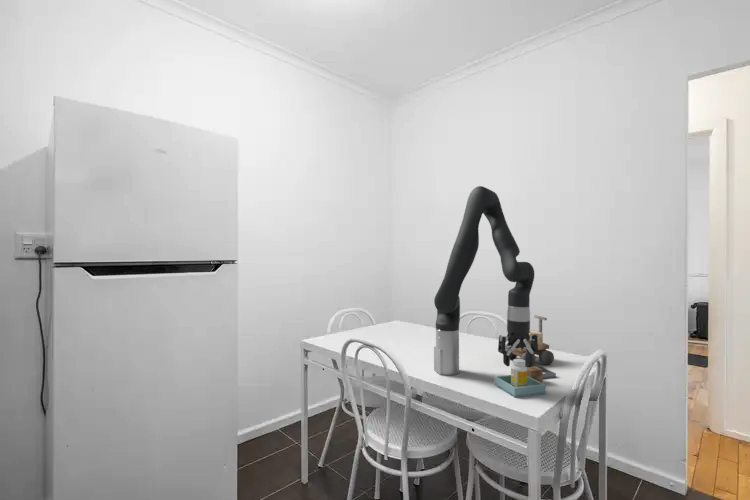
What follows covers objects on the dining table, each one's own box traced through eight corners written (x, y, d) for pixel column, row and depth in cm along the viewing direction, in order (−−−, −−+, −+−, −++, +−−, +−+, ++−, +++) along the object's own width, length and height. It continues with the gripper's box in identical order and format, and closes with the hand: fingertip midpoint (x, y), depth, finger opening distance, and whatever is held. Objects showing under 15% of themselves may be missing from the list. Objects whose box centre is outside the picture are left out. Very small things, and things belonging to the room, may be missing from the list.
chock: (530, 384, 137) (530, 370, 137) (523, 380, 141) (523, 367, 141) (542, 383, 138) (542, 369, 138) (535, 379, 142) (535, 366, 142)
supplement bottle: (508, 387, 132) (508, 360, 132) (514, 383, 136) (514, 357, 136) (523, 391, 128) (523, 363, 128) (529, 387, 132) (529, 360, 132)
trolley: (523, 367, 156) (523, 321, 156) (504, 358, 169) (504, 315, 169) (554, 364, 160) (553, 319, 159) (532, 355, 173) (532, 313, 173)
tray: (514, 397, 125) (514, 388, 125) (494, 384, 136) (494, 376, 136) (545, 393, 128) (545, 384, 128) (523, 381, 139) (523, 373, 139)
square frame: (537, 379, 142) (537, 375, 142) (523, 372, 150) (523, 368, 150) (555, 377, 144) (555, 373, 144) (541, 370, 152) (541, 366, 152)
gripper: (506, 321, 126) (505, 369, 126) (543, 320, 130) (542, 366, 130) (494, 317, 134) (493, 362, 134) (529, 316, 137) (528, 360, 137)
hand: (517, 364), depth 132 cm, fingers open, 8 cm apart
